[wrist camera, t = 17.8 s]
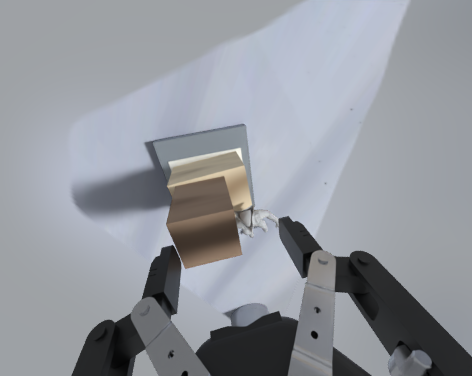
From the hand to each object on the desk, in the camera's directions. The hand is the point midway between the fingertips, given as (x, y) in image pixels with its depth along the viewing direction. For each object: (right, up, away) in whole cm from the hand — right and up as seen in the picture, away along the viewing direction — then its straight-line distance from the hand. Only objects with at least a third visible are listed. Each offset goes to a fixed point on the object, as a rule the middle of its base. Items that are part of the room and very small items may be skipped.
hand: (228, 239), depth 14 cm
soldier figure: (+3, -2, +17) cm, 18 cm away
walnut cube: (-3, +2, +6) cm, 7 cm away
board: (-3, +6, +12) cm, 13 cm away
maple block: (-3, +5, +10) cm, 12 cm away
